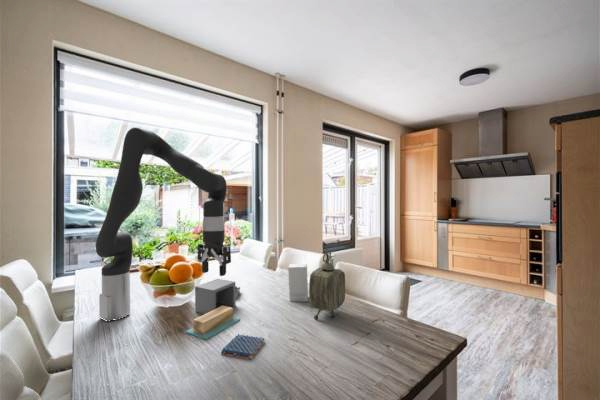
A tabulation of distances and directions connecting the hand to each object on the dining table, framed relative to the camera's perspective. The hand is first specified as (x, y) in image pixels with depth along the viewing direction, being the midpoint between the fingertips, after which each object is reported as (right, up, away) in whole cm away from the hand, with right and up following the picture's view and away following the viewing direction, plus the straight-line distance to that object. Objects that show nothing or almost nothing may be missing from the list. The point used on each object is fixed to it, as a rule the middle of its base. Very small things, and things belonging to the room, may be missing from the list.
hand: (213, 273), depth 97 cm
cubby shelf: (-4, -19, +16) cm, 25 cm away
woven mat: (+14, -19, -15) cm, 28 cm away
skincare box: (+30, -19, +25) cm, 44 cm away
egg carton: (-2, -19, +31) cm, 37 cm away
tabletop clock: (+42, -19, +7) cm, 47 cm away
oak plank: (0, -18, 0) cm, 18 cm away
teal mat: (0, -19, 0) cm, 19 cm away
